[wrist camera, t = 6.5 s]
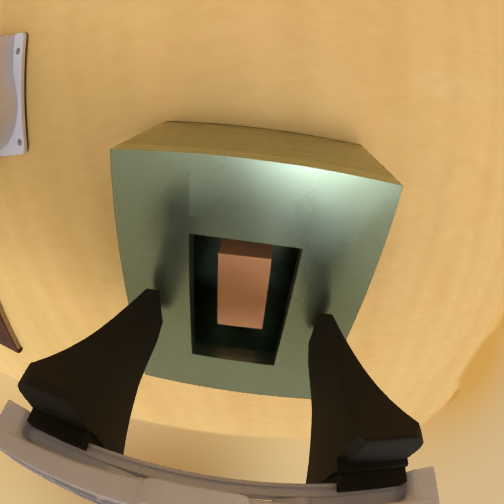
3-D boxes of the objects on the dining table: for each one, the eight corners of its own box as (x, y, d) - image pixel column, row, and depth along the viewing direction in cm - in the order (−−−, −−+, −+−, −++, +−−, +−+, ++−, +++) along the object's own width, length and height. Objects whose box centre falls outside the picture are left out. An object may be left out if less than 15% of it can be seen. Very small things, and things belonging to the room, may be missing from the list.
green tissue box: (168, 120, 16) (110, 149, 10) (360, 145, 16) (403, 186, 10) (172, 305, 24) (145, 374, 18) (311, 325, 23) (316, 399, 18)
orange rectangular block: (233, 207, 18) (218, 253, 14) (274, 212, 18) (271, 259, 14) (230, 270, 20) (217, 323, 16) (266, 274, 20) (262, 329, 16)
